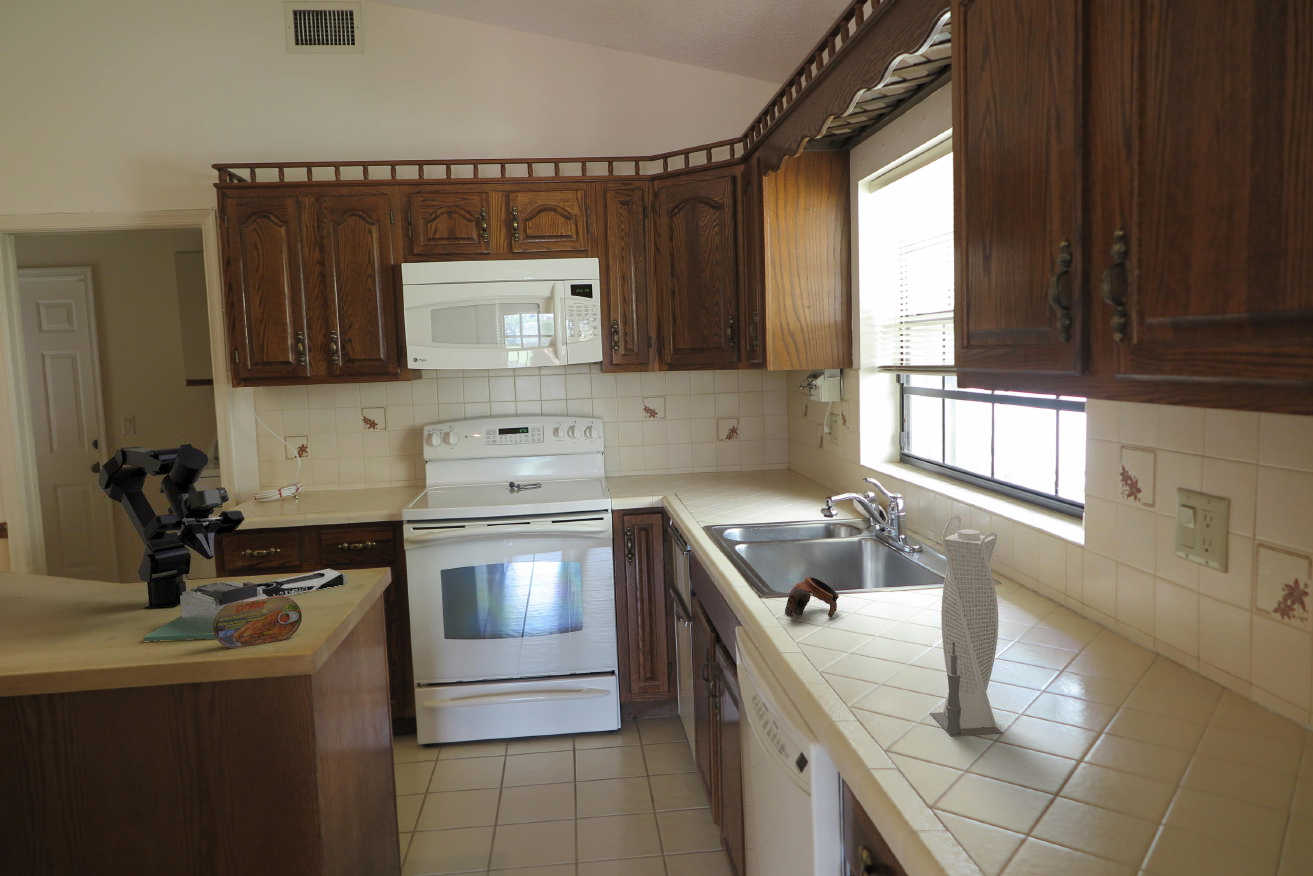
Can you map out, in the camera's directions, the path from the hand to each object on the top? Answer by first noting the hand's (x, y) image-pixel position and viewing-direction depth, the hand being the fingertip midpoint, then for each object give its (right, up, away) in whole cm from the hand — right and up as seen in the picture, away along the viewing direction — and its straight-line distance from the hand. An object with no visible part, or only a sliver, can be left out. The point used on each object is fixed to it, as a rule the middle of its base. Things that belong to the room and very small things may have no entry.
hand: (210, 558), depth 169 cm
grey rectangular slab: (+3, -7, -2) cm, 8 cm away
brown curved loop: (+121, -10, -9) cm, 122 cm away
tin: (+17, -14, -14) cm, 26 cm away
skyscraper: (+134, -14, -57) cm, 147 cm away
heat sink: (+4, -13, -2) cm, 14 cm away
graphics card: (+6, -12, +22) cm, 25 cm away
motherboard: (+3, -13, -2) cm, 14 cm away
